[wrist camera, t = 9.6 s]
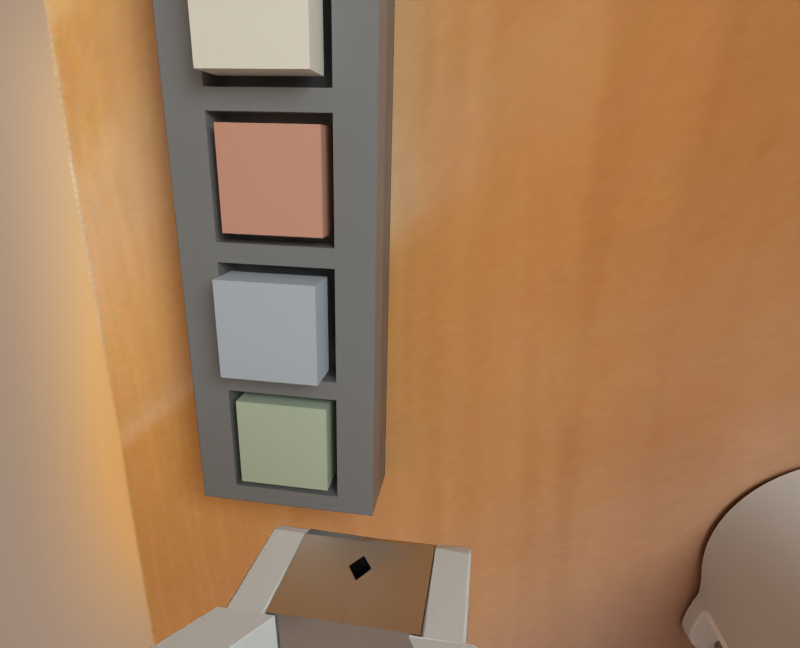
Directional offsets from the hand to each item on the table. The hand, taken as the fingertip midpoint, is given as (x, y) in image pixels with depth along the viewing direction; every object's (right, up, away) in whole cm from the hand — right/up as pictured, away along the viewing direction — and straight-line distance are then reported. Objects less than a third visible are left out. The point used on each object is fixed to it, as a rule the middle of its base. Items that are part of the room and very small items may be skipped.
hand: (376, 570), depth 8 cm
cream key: (-5, +17, +14) cm, 23 cm away
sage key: (-6, -2, +22) cm, 23 cm away
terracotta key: (-5, +11, +18) cm, 21 cm away
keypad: (-5, +8, +21) cm, 23 cm away
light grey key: (-6, +4, +18) cm, 20 cm away
